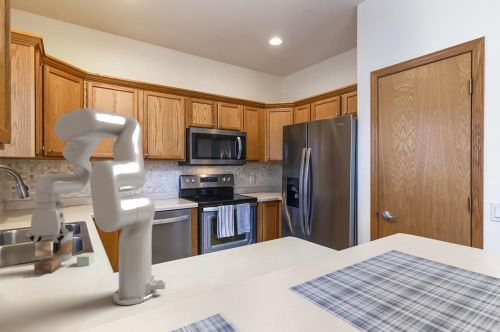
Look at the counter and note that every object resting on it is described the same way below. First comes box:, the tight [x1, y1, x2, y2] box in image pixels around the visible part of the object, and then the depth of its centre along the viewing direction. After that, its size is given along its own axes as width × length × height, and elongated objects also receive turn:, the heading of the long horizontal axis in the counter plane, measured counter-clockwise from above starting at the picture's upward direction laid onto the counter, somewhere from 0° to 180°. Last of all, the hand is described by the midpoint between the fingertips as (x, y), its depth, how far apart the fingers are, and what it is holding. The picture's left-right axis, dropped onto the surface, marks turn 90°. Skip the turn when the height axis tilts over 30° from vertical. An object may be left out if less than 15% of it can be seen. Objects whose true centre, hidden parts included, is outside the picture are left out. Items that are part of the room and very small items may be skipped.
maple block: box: [34, 238, 55, 257], centre depth 100 cm, size 6×6×5 cm
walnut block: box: [33, 257, 62, 275], centre depth 100 cm, size 6×6×4 cm
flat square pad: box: [21, 264, 67, 279], centre depth 100 cm, size 11×11×1 cm
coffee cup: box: [50, 224, 74, 263], centre depth 112 cm, size 8×8×15 cm
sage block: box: [76, 252, 95, 268], centre depth 106 cm, size 4×4×5 cm
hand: (47, 251), depth 100 cm, fingers closed on maple block, 5 cm apart
